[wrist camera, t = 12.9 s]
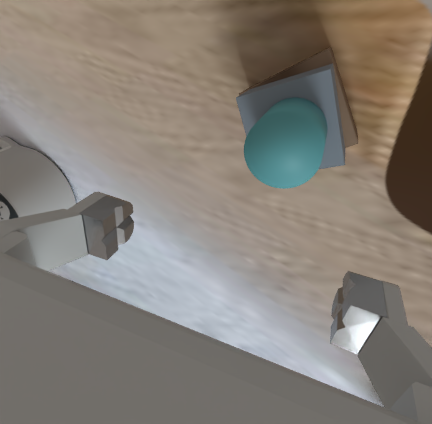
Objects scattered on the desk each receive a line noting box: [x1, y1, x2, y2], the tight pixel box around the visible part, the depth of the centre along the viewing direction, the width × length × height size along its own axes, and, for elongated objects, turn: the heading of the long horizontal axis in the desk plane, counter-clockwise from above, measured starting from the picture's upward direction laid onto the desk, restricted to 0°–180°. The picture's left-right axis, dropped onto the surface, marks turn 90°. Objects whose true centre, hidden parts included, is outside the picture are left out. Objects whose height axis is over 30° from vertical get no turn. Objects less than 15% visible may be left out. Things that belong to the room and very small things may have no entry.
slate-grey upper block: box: [236, 63, 345, 169], centre depth 25 cm, size 7×7×4 cm
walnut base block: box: [239, 47, 358, 148], centre depth 28 cm, size 8×8×4 cm
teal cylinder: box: [244, 97, 328, 188], centre depth 21 cm, size 5×5×5 cm
